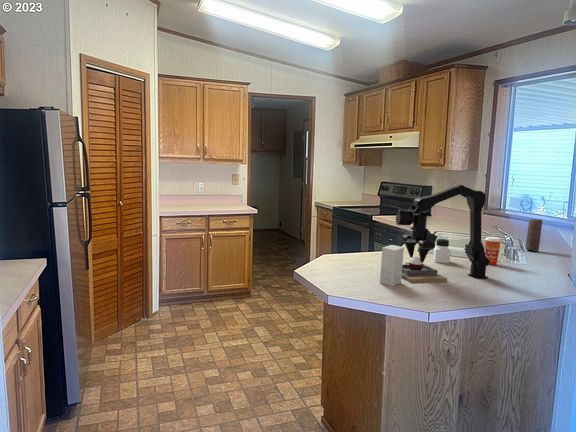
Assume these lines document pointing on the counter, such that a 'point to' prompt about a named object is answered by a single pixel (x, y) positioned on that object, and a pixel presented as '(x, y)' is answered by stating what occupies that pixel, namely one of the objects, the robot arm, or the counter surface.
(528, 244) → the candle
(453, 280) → the counter surface
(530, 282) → the counter surface
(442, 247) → the medicine bottle
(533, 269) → the counter surface
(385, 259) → the skincare box
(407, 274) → the tray stand
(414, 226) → the robot arm
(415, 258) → the cocoa
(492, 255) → the paper cup
